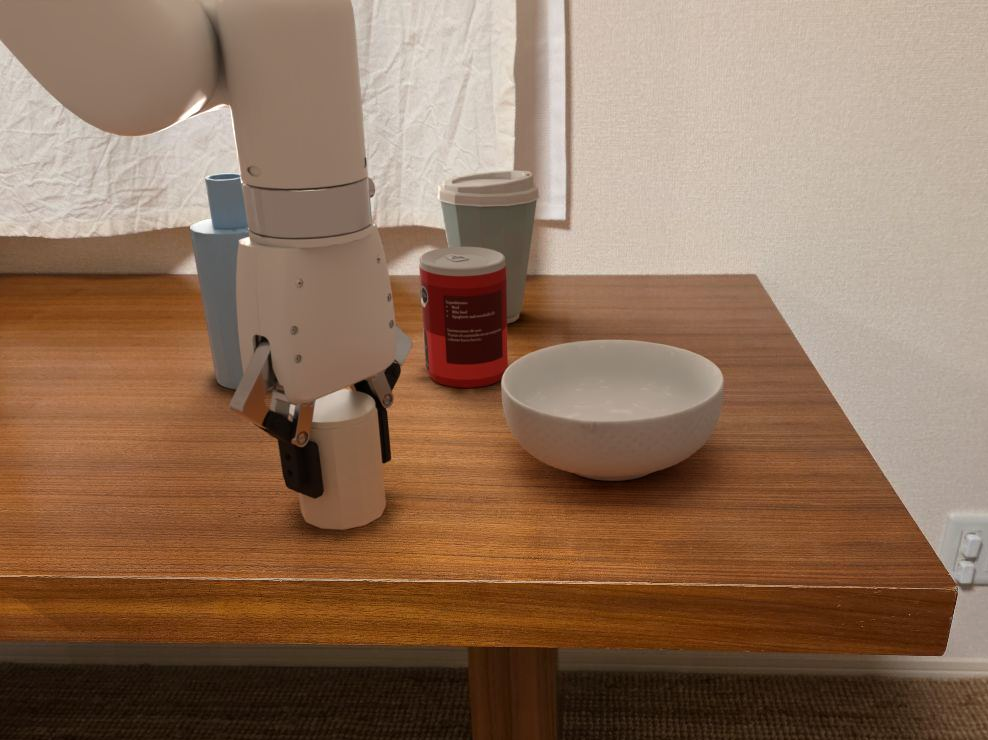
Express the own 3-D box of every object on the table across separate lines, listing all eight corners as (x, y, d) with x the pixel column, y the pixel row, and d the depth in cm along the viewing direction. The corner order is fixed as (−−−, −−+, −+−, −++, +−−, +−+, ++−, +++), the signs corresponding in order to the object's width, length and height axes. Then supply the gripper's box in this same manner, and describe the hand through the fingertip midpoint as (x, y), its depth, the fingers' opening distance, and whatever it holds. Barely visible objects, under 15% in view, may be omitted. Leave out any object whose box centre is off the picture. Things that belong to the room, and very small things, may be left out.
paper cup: (343, 537, 69) (330, 429, 65) (285, 514, 71) (269, 409, 67) (401, 505, 73) (392, 401, 69) (344, 483, 76) (332, 383, 72)
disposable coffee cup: (433, 331, 106) (424, 182, 99) (452, 301, 116) (446, 163, 108) (533, 334, 105) (532, 184, 98) (544, 303, 114) (544, 165, 107)
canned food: (460, 354, 100) (455, 242, 94) (525, 370, 96) (523, 254, 90) (408, 377, 95) (399, 259, 89) (475, 395, 91) (470, 273, 85)
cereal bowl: (569, 402, 89) (570, 325, 85) (748, 442, 82) (758, 359, 78) (460, 477, 76) (455, 389, 73) (660, 531, 69) (666, 437, 65)
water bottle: (250, 395, 91) (217, 188, 82) (201, 379, 94) (164, 178, 85) (308, 373, 96) (283, 174, 87) (259, 358, 99) (230, 166, 90)
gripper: (364, 180, 70) (385, 422, 79) (150, 228, 57) (204, 507, 67) (447, 193, 66) (459, 445, 75) (237, 247, 54) (282, 540, 63)
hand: (339, 472), depth 71 cm, fingers closed on paper cup, 5 cm apart
